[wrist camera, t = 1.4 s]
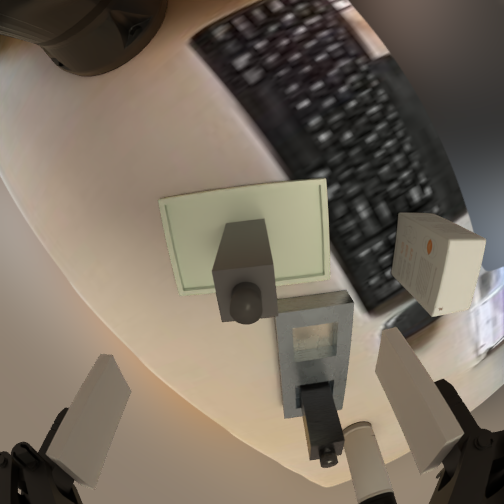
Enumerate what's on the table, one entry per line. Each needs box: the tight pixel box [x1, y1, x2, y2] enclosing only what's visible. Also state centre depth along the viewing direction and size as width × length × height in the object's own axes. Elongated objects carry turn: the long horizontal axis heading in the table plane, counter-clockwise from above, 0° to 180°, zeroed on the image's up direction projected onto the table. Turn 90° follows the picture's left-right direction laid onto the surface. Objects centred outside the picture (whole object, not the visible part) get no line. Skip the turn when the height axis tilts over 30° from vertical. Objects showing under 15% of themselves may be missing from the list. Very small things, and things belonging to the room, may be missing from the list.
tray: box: [158, 178, 330, 296], centre depth 30 cm, size 11×17×1 cm, turn 97°
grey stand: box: [275, 290, 354, 468], centre depth 30 cm, size 20×9×15 cm, turn 7°
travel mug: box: [343, 422, 397, 504], centre depth 35 cm, size 6×7×20 cm
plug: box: [212, 219, 278, 324], centre depth 24 cm, size 4×4×14 cm
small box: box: [391, 213, 486, 317], centre depth 26 cm, size 8×6×10 cm
